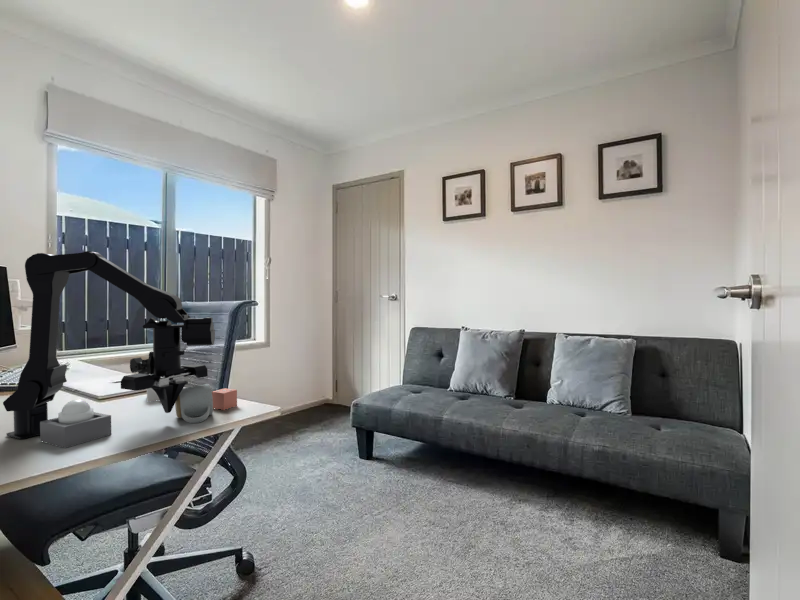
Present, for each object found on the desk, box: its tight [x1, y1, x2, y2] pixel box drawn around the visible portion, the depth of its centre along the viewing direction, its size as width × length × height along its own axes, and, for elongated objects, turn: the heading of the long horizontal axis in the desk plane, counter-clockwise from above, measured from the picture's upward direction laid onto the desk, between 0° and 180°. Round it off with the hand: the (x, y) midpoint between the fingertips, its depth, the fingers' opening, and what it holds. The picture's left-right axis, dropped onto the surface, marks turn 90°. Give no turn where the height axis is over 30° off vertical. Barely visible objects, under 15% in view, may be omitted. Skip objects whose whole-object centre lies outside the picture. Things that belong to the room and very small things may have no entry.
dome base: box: [39, 411, 112, 449], centre depth 92 cm, size 9×9×4 cm
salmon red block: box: [212, 387, 238, 411], centre depth 116 cm, size 4×4×5 cm
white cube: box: [146, 377, 162, 403], centre depth 127 cm, size 6×6×6 cm
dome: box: [57, 398, 94, 425], centre depth 92 cm, size 6×6×5 cm
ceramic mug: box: [174, 383, 214, 424], centre depth 106 cm, size 11×8×8 cm
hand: (167, 412), depth 102 cm, fingers closed
